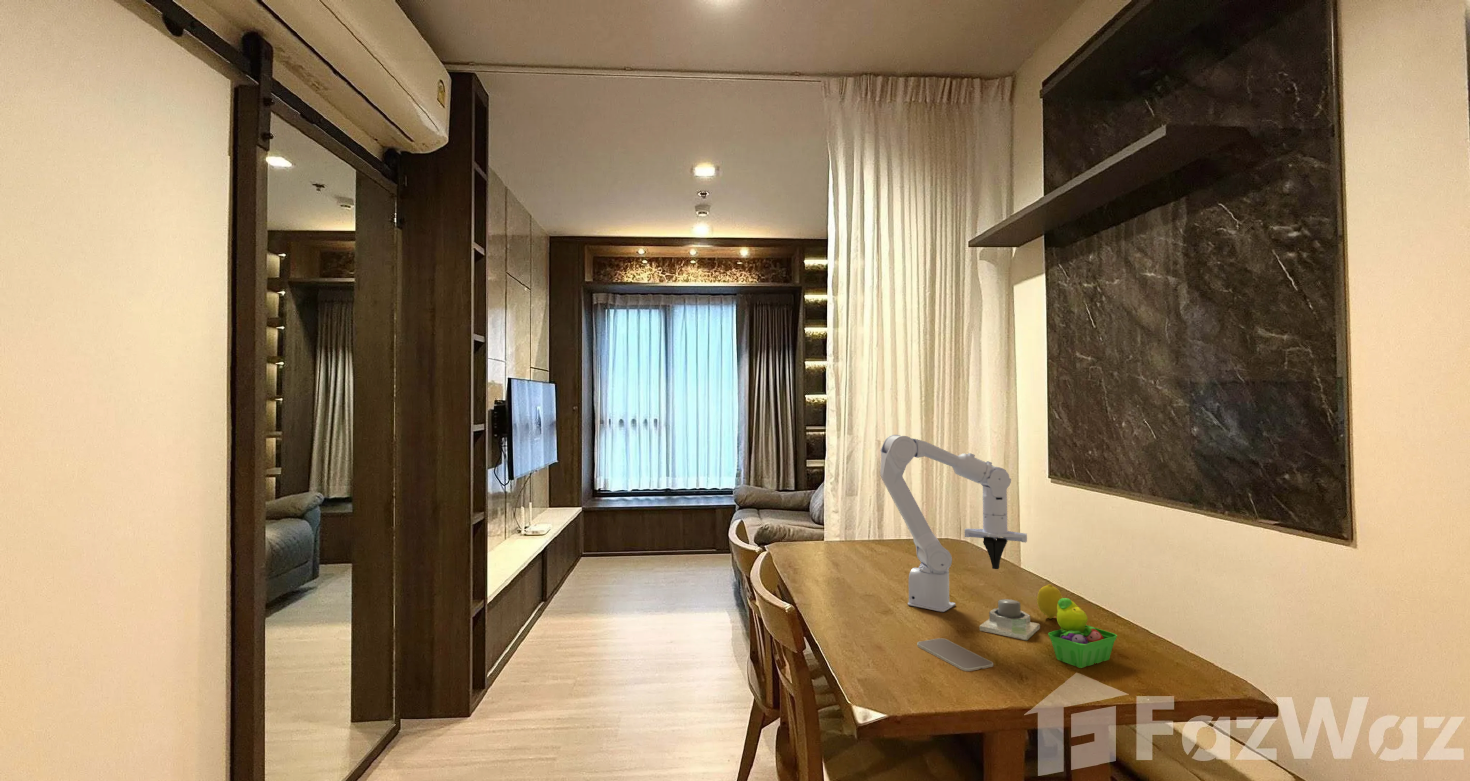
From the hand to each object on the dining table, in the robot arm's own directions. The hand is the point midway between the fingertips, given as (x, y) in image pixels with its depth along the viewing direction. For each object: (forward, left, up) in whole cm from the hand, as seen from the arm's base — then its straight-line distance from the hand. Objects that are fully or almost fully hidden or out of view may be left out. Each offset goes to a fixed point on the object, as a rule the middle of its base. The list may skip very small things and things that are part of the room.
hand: (995, 568), depth 162 cm
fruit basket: (+24, -25, -10) cm, 36 cm away
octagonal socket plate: (+8, -16, -9) cm, 20 cm away
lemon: (+13, -2, -10) cm, 16 cm away
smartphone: (+4, -39, -10) cm, 40 cm away
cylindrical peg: (+8, -16, -8) cm, 20 cm away
